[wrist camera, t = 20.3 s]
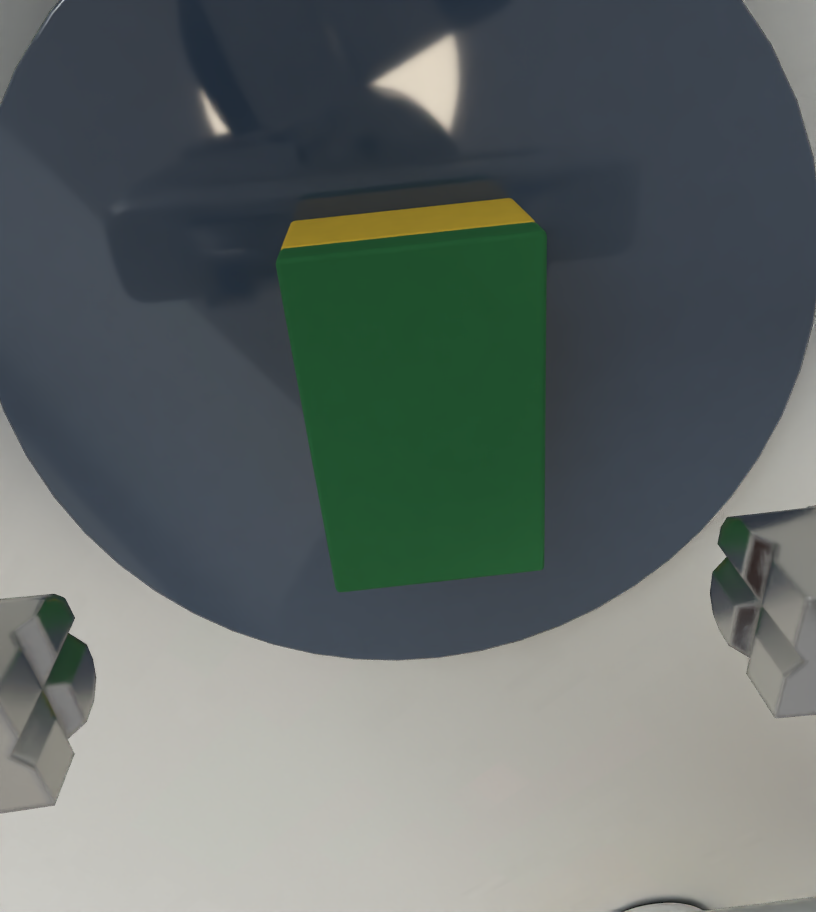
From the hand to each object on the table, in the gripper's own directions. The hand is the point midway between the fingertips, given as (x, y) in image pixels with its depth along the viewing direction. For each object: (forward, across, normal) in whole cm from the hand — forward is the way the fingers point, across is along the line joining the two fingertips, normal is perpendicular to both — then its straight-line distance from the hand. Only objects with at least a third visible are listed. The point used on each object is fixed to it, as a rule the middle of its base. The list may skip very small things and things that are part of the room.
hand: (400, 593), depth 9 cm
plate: (+9, -1, 0) cm, 9 cm away
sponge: (+8, -1, 0) cm, 8 cm away
